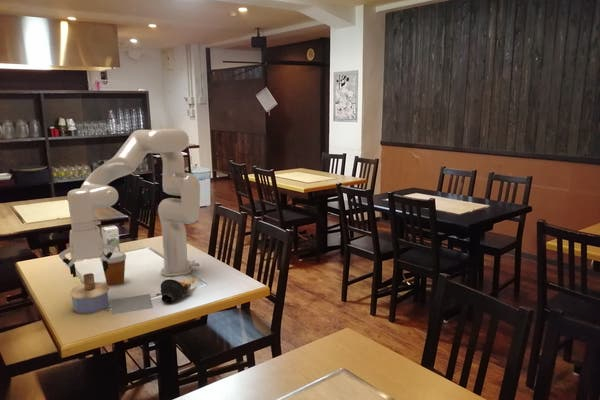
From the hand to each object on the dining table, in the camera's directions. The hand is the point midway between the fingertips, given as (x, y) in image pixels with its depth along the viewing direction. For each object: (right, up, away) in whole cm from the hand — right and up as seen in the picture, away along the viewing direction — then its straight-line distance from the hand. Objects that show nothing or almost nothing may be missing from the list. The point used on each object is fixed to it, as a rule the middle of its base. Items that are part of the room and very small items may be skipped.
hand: (90, 273), depth 155 cm
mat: (+13, -12, +4) cm, 18 cm away
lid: (0, -6, 0) cm, 6 cm away
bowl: (0, -12, +1) cm, 12 cm away
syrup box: (-16, -2, +56) cm, 58 cm away
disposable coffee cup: (-1, -8, +23) cm, 25 cm away
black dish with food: (+28, -10, +11) cm, 32 cm away
